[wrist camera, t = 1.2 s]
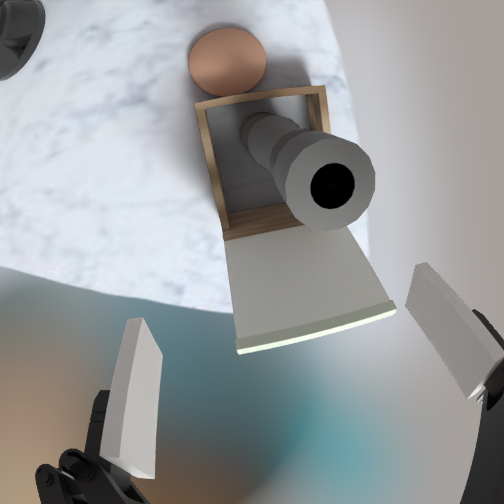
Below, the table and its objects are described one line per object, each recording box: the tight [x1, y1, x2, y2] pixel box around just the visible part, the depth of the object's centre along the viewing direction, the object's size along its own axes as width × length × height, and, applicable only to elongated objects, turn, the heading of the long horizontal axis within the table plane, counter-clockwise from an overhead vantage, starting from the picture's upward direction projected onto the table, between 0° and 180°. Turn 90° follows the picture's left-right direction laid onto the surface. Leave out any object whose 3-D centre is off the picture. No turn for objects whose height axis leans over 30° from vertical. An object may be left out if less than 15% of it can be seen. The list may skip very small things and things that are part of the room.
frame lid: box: [224, 225, 397, 354], centre depth 31 cm, size 4×16×15 cm, turn 99°
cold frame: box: [194, 85, 331, 241], centre depth 35 cm, size 25×16×12 cm, turn 9°
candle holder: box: [240, 112, 375, 231], centre depth 26 cm, size 6×6×25 cm
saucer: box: [189, 28, 266, 96], centre depth 30 cm, size 10×10×1 cm
